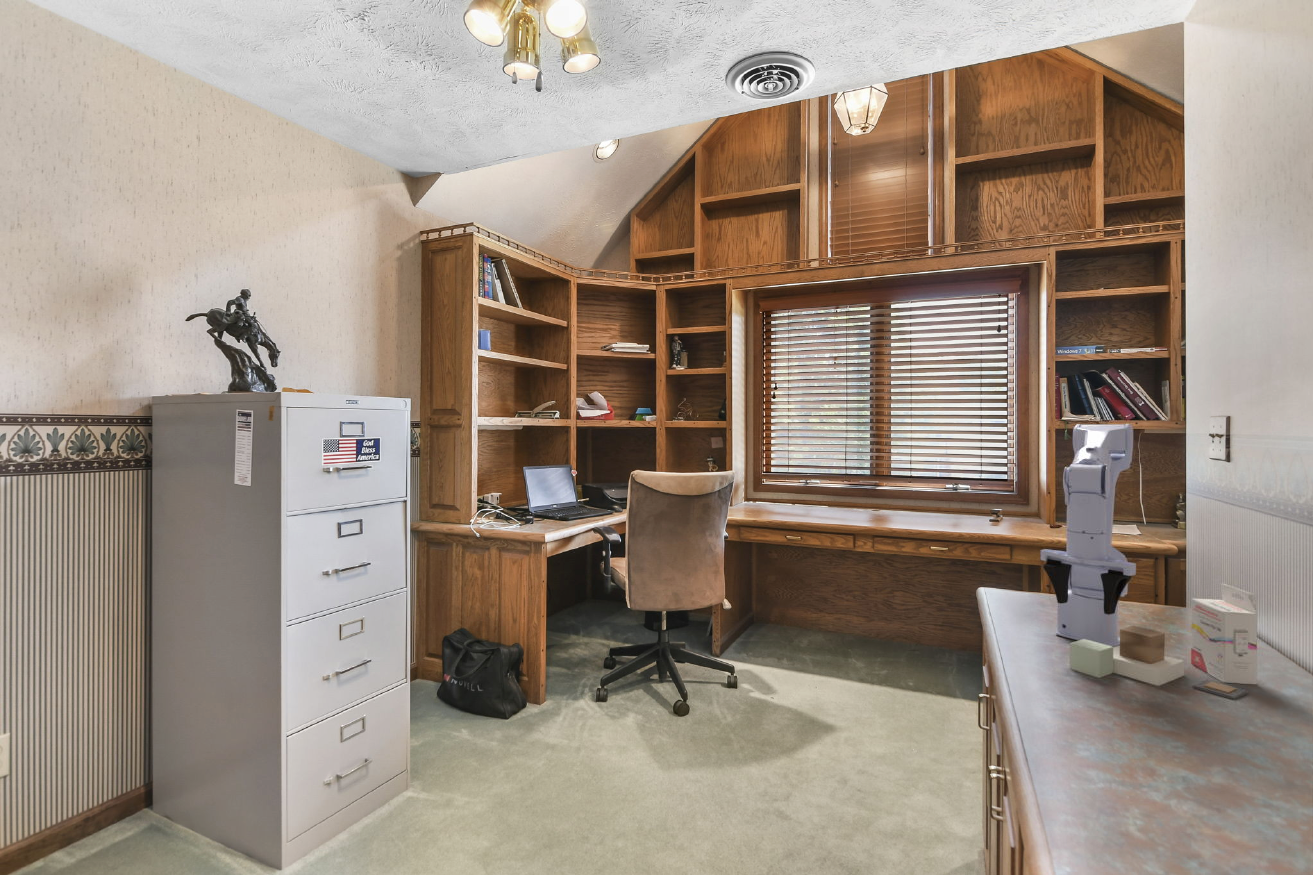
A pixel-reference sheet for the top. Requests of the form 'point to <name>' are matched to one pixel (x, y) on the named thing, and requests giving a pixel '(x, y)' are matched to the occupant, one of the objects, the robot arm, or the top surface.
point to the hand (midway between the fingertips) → (1085, 607)
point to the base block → (1148, 668)
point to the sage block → (1091, 658)
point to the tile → (1220, 689)
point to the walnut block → (1142, 644)
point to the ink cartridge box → (1226, 636)
